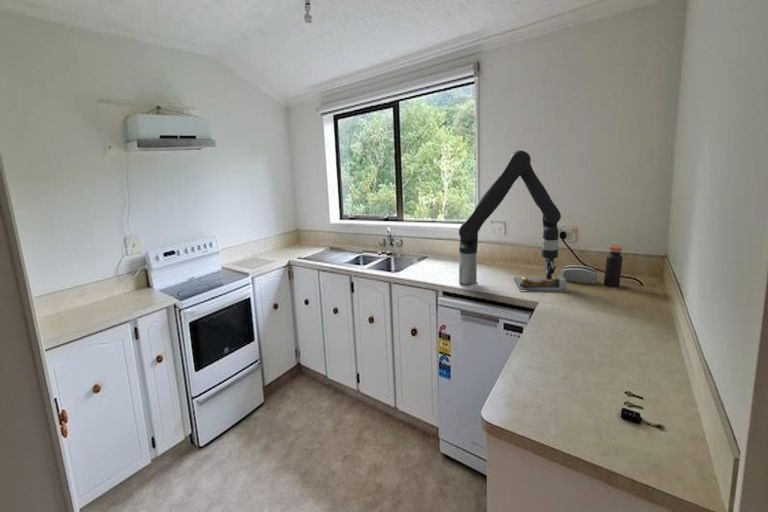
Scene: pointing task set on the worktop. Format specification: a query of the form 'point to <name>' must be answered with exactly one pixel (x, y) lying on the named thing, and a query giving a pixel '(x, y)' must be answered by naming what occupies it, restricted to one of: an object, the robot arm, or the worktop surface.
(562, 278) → the keeper
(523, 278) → the pintle
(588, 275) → the grey napkin holder
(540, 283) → the link
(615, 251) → the bottle
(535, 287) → the board
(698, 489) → the worktop surface
